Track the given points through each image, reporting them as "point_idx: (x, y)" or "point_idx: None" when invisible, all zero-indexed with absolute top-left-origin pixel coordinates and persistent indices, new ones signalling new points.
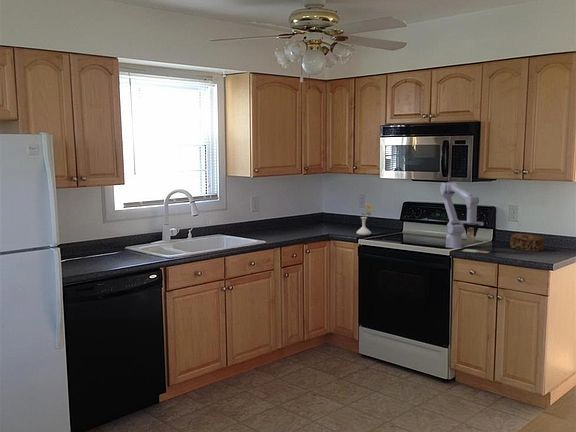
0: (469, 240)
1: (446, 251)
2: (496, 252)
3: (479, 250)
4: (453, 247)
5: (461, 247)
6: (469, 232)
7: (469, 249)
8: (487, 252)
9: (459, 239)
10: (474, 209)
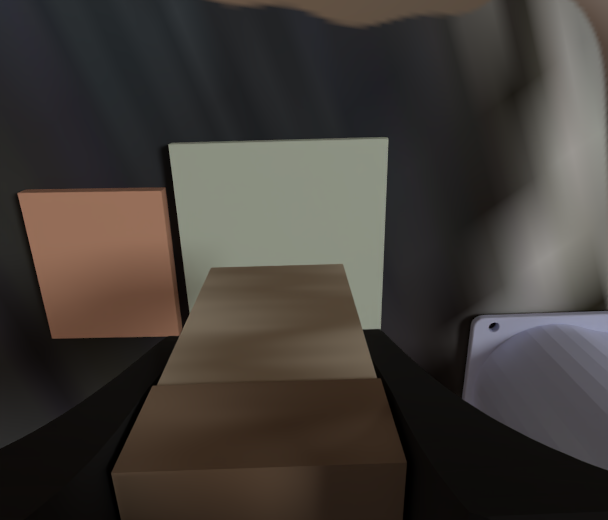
0: (290, 268)
1: (591, 27)
2: (6, 371)
3: None
4: (556, 324)
5: (466, 391)
6: (297, 367)
7: None
8: (35, 242)
9: (542, 439)
10: None
